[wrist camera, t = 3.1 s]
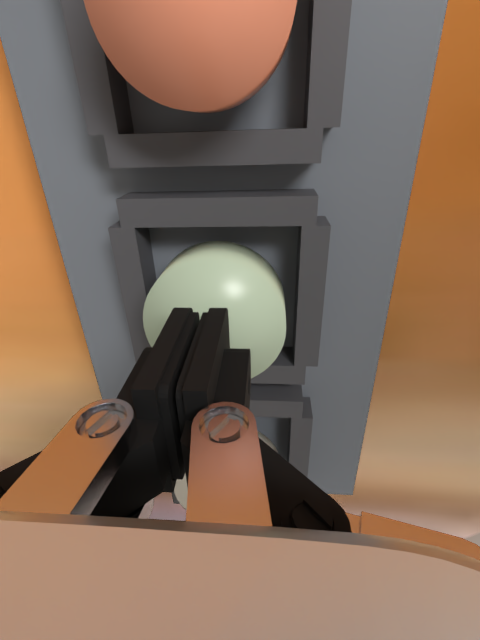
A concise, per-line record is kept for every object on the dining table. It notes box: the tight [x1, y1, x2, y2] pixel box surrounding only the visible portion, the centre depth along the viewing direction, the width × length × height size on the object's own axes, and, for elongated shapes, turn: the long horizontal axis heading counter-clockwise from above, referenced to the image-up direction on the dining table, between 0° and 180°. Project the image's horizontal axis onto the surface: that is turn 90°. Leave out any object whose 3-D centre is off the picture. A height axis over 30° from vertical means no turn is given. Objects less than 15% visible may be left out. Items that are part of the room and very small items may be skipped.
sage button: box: [143, 241, 286, 378], centre depth 13 cm, size 5×5×2 cm
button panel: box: [0, 0, 448, 504], centre depth 16 cm, size 14×27×4 cm, turn 2°
